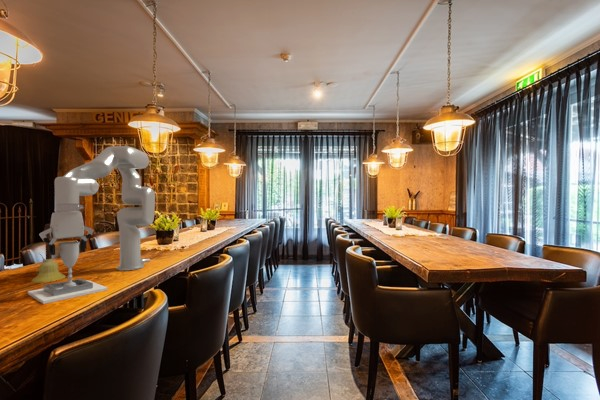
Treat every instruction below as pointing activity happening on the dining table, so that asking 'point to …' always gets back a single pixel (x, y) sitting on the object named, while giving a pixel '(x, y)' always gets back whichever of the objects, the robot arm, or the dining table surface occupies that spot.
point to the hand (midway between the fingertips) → (68, 252)
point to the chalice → (69, 258)
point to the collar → (54, 290)
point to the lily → (43, 260)
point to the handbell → (48, 266)
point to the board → (48, 298)
